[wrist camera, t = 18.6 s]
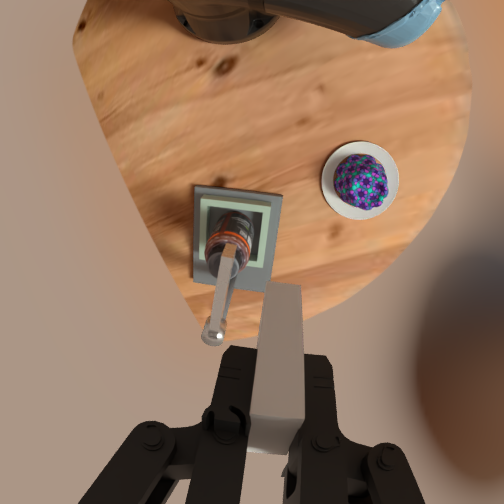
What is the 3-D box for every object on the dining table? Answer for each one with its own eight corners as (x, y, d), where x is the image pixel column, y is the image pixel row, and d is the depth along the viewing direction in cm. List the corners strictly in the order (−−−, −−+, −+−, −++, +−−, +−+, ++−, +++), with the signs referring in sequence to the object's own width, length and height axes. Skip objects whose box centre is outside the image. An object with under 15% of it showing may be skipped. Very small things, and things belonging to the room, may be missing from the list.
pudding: (408, 158, 40) (422, 166, 35) (379, 227, 45) (388, 242, 41) (336, 128, 39) (343, 132, 35) (309, 203, 45) (312, 216, 40)
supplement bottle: (213, 240, 48) (194, 280, 38) (220, 205, 45) (201, 239, 35) (250, 250, 48) (240, 292, 38) (259, 216, 45) (251, 252, 35)
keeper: (225, 332, 40) (221, 348, 38) (205, 327, 40) (200, 343, 38) (244, 246, 34) (240, 260, 31) (219, 241, 34) (213, 254, 31)
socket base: (196, 185, 45) (165, 217, 33) (282, 195, 44) (281, 232, 33) (194, 279, 53) (172, 329, 41) (268, 289, 52) (263, 344, 41)
